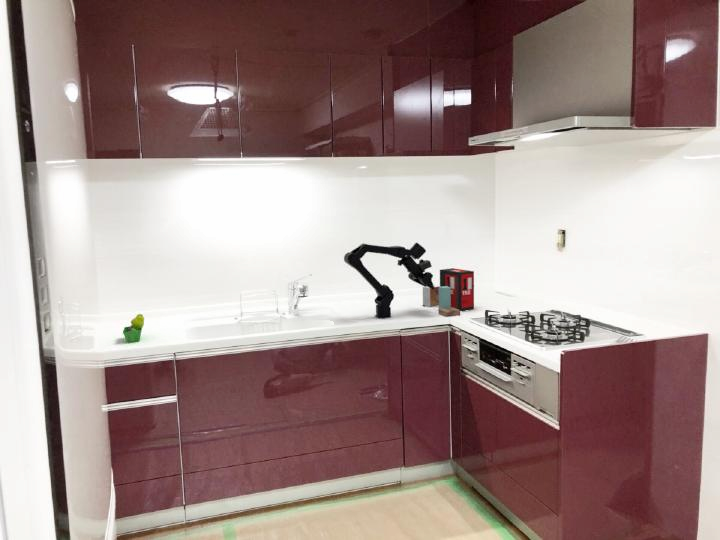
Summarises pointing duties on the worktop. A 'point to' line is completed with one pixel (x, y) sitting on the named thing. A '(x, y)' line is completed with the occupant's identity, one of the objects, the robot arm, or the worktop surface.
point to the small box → (431, 296)
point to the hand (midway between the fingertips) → (430, 287)
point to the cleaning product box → (459, 287)
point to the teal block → (444, 297)
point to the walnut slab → (449, 312)
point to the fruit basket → (134, 329)
